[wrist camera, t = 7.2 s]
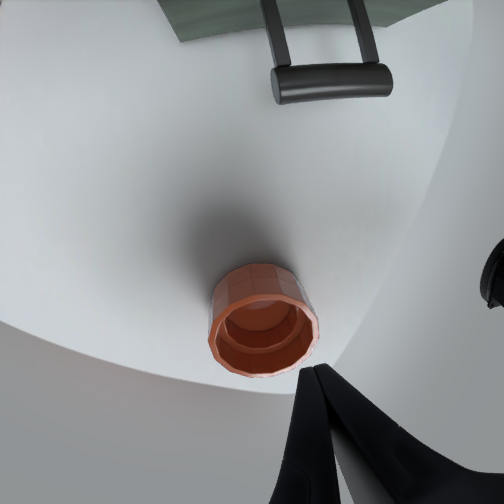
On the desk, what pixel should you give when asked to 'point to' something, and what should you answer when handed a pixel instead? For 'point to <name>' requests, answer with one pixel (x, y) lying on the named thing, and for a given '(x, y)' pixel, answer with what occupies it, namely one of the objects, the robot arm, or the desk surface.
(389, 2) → the drawer
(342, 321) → the desk surface
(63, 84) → the desk surface
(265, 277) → the rice bowl
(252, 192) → the desk surface
